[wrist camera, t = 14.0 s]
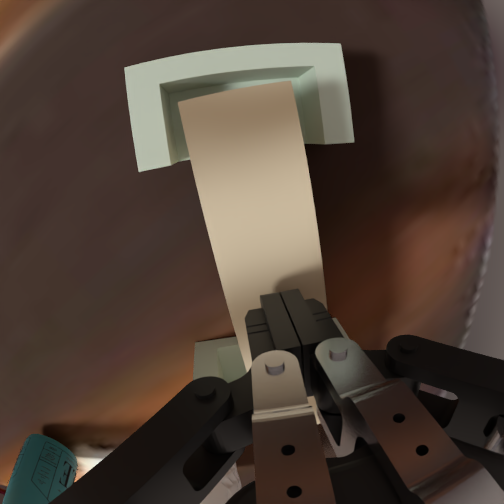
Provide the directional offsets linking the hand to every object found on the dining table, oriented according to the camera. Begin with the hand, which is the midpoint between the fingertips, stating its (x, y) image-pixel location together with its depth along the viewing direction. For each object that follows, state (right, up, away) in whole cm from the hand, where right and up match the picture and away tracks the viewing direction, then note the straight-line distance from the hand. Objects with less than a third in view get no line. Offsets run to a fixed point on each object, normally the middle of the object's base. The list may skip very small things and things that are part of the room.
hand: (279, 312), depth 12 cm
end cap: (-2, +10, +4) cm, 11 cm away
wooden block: (-1, +2, +6) cm, 7 cm away
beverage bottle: (-22, -18, +12) cm, 31 cm away
